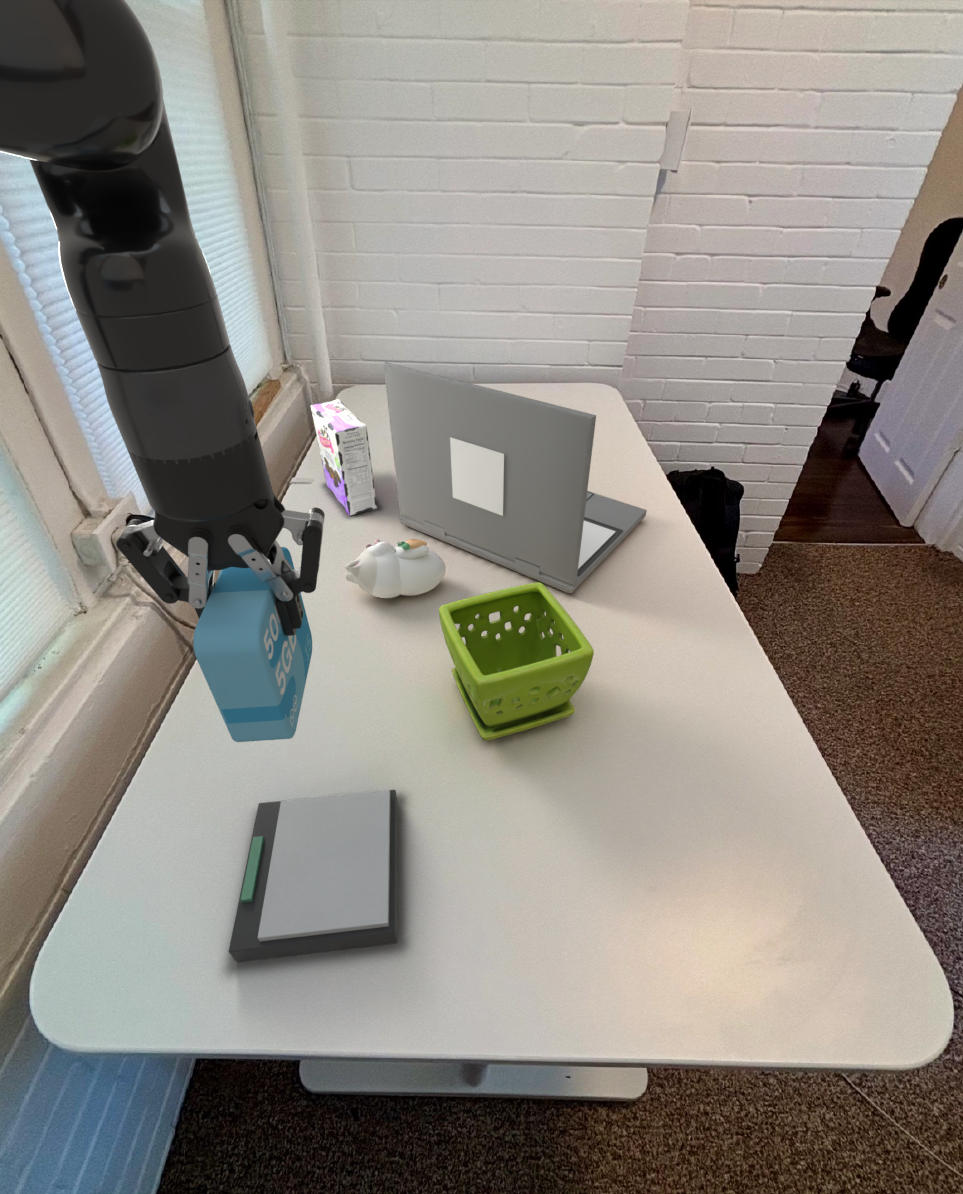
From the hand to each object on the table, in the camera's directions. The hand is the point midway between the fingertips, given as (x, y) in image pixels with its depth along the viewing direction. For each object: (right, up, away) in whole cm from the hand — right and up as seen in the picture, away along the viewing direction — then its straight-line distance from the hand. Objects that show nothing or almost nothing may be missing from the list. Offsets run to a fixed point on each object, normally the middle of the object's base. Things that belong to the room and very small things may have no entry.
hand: (258, 630), depth 47 cm
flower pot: (+21, -10, +27) cm, 36 cm away
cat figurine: (+5, +4, +44) cm, 45 cm away
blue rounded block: (0, -6, +5) cm, 8 cm away
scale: (+3, -24, +10) cm, 26 cm away
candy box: (-7, +22, +67) cm, 71 cm away
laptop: (+25, +15, +58) cm, 65 cm away
